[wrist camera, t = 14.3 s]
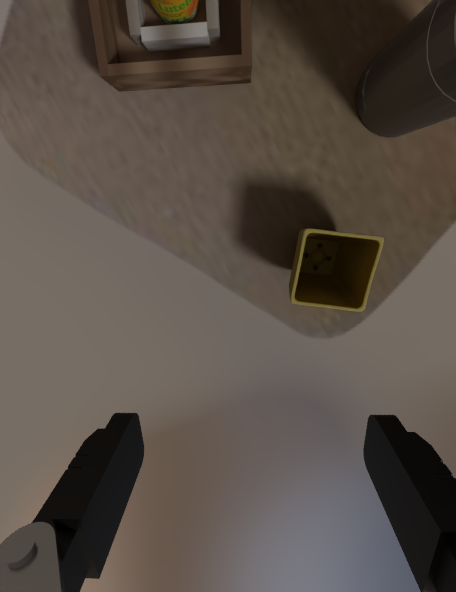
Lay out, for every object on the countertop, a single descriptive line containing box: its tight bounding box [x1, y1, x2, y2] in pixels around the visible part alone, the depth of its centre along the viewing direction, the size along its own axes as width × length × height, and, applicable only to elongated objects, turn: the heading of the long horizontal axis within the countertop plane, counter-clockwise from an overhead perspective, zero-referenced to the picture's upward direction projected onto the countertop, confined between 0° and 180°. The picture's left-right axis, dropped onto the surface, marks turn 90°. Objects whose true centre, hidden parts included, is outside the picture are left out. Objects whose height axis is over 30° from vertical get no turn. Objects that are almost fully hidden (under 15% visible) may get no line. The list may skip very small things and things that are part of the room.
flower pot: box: [289, 228, 384, 311], centre depth 37 cm, size 9×9×9 cm
